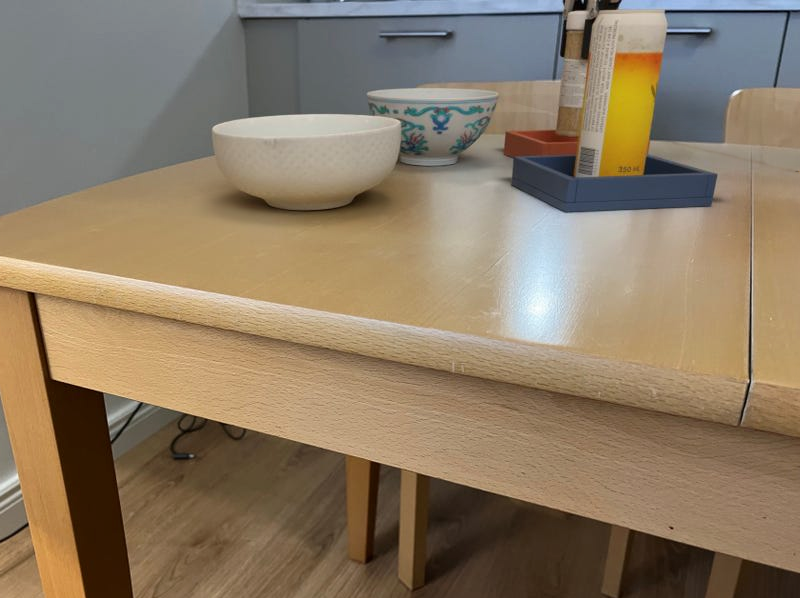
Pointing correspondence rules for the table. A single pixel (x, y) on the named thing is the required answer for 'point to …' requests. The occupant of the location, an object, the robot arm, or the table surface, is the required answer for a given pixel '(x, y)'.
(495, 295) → the table surface
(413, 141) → the chinaware
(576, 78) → the sprinkles bottle
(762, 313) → the table surface
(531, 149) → the terracotta tray
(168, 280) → the table surface
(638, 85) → the beer can
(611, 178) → the blue tray
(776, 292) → the table surface
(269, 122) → the cereal bowl
